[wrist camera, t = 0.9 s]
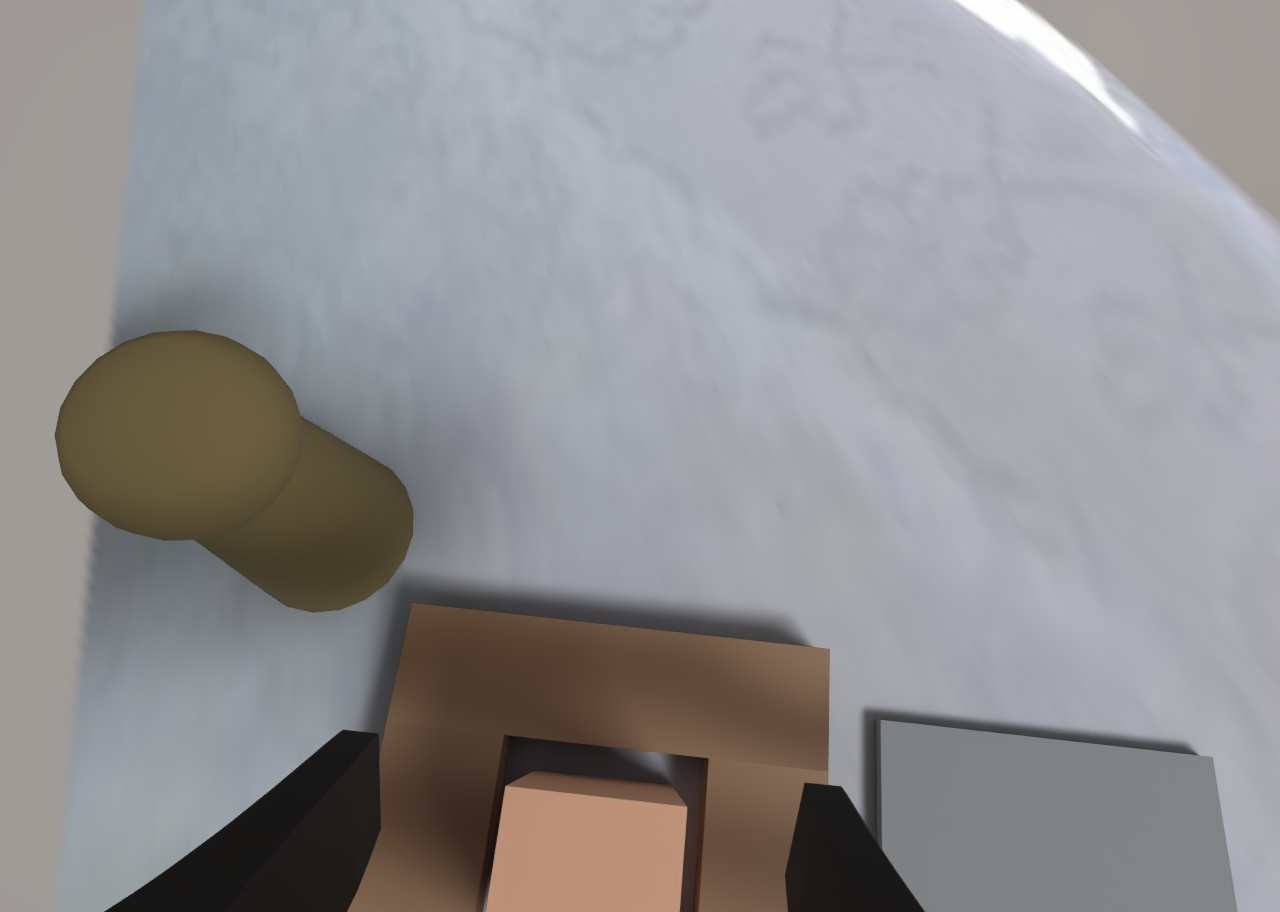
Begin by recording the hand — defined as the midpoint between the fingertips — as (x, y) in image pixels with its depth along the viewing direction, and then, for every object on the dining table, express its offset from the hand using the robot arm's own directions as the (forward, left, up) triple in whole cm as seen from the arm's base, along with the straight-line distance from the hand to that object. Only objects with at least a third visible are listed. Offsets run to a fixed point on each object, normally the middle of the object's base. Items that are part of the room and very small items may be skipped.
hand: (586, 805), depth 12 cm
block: (-3, 0, -13) cm, 13 cm away
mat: (-3, -14, -13) cm, 19 cm away
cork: (+7, +11, -13) cm, 18 cm away
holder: (-3, 0, -12) cm, 13 cm away
